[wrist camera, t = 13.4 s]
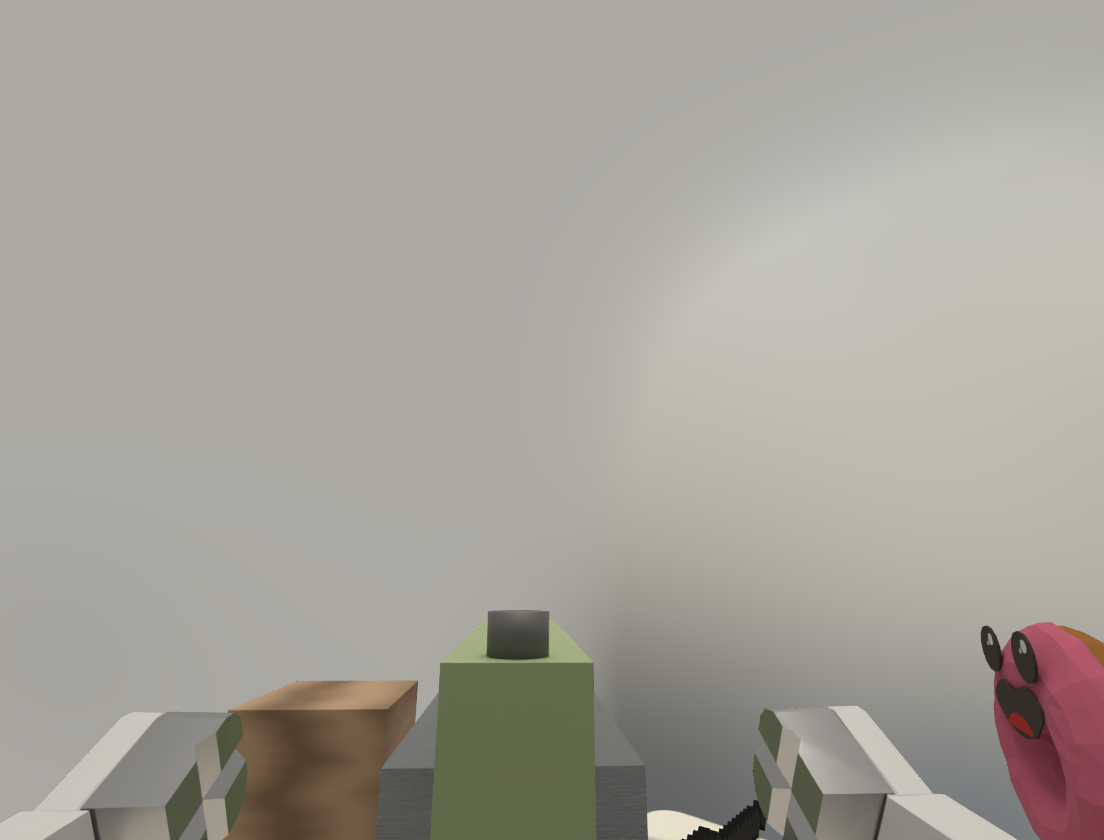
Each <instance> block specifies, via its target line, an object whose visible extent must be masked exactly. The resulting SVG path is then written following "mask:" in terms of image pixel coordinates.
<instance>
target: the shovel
mask: <svg viewBox="0 0 1104 840" xmlns="http://www.w3.org/2000/svg"><path fill="white" fill-rule="evenodd" d="M765 825H766V819H765V817H764V814H763V812H762V810H761V808H760V805H759V802H758V801H757V800H754V802H753V807H752V806H747V809H743V812H740V814H739V815H736V818H732V822H730V821H728V824H727V825H724V826H723V829H720V828H719V833H718V832H717V831H713V830H710V828H705V827H701V826H699V828H698V831H696V830H693V835H689V834H688V836H687V840H755V837H757V838H758V837H759V830H763V831H765ZM682 840H685V839H682Z"/></svg>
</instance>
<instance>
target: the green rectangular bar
mask: <svg viewBox="0 0 1104 840" xmlns="http://www.w3.org/2000/svg"><path fill="white" fill-rule="evenodd" d="M593 669H594V668H593V662H592V661H591V659H590V658H589V657H588V656H587V655H586V654H585V653H584V652H583V651H582V650H581V649H580V648H579V647H578V646H577V645H576V644H575V643H574V642H573V641H572V639H571V638H570V637H569V636H568V635H567V634H566V633H565V632H564V631H563V630H562V629H561V628H560V627H559V626H558V625H557V624H556V623H555V621H554V620H549V611H533V610H532V611H530V610H507V611H506V610H502V611H488V619H487V620H484V621H483V622H482V623H481V624H480V625H479V626H478V627H477V628H476V629H475V630H474V631H473V632H472V633H471V634H470V635H469V636H468V637H467V638H466V639H465V640H464V641H463V642H462V643H461V644H460V645H458V646H457V647H456V648H455V649H454V650H453V652H451V653H450V654H449V655H448V656H447V657H446V658H445V659H444V660H443V661H442V662H441V663H440V682H439V697H438V714H437V731H436V748H435V765H434V782H433V799H432V816H431V833H430V840H596V794H595V730H594V670H593Z"/></svg>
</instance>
